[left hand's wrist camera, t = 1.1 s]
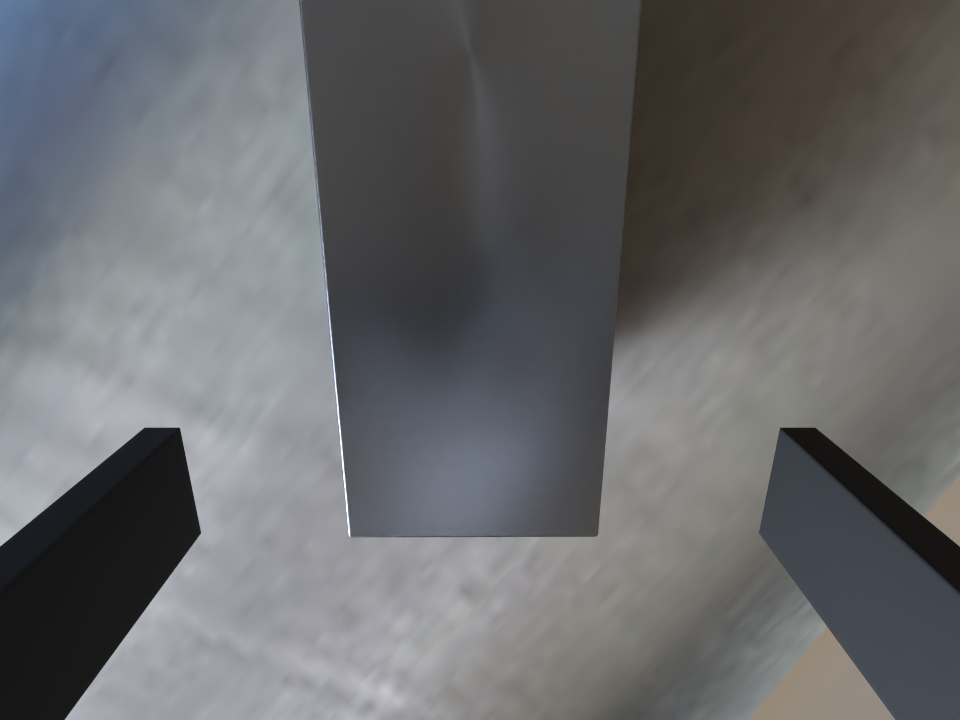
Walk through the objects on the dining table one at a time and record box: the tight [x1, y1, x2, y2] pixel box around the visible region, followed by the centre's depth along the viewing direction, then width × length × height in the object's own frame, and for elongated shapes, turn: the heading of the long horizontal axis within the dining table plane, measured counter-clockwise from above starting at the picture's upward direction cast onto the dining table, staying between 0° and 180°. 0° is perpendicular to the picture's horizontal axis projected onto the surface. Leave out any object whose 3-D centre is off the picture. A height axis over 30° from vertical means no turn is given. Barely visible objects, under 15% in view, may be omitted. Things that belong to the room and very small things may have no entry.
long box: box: [299, 0, 642, 537], centre depth 18 cm, size 25×7×12 cm, turn 0°
